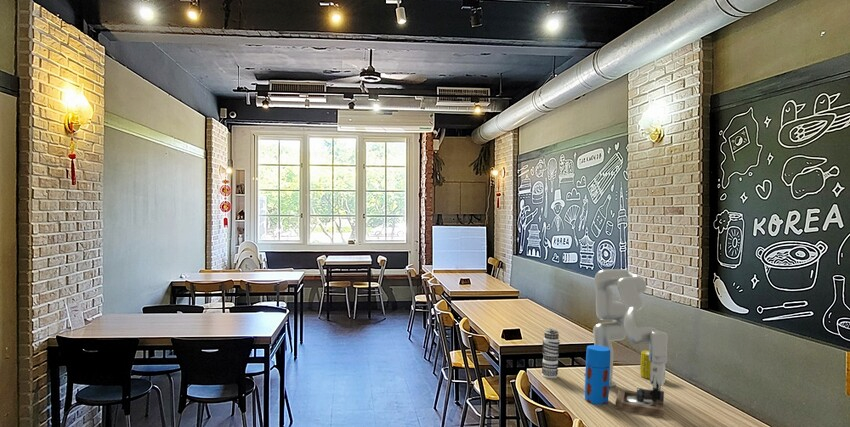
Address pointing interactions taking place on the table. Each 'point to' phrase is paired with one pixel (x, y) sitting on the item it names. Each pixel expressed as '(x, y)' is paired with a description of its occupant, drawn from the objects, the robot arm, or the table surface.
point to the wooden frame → (638, 408)
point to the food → (645, 364)
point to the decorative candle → (550, 353)
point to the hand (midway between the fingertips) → (656, 398)
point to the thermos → (597, 374)
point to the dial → (644, 397)
